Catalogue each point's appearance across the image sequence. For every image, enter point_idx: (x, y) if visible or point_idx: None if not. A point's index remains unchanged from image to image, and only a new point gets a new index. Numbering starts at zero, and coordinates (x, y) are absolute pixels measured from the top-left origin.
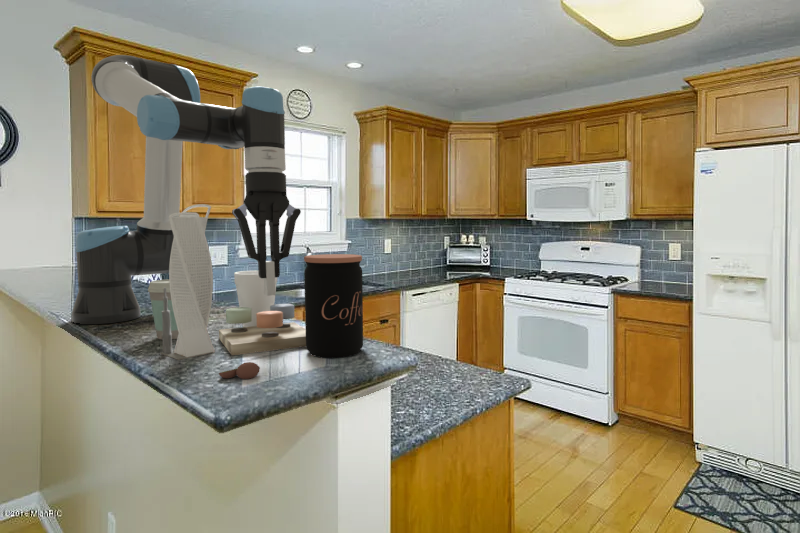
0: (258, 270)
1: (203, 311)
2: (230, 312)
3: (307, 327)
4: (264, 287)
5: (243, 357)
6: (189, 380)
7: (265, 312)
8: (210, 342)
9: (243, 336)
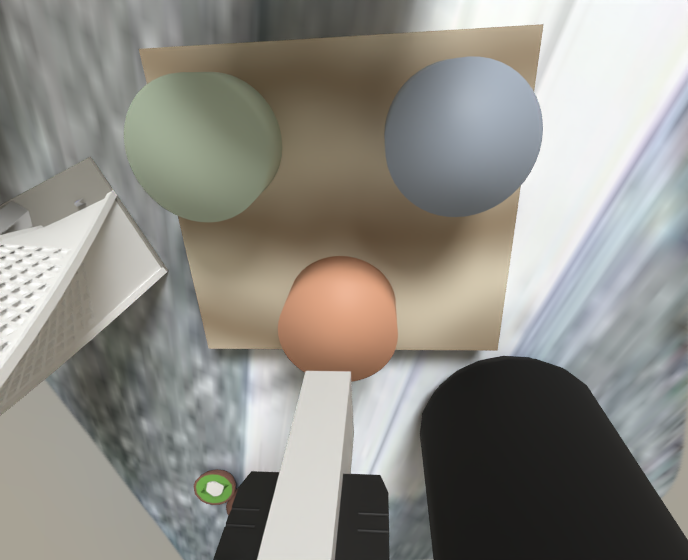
0: (226, 526)
1: (40, 346)
2: (157, 199)
3: (426, 486)
4: (299, 405)
5: (251, 359)
6: (142, 463)
7: (322, 312)
8: (139, 296)
9: (248, 253)
